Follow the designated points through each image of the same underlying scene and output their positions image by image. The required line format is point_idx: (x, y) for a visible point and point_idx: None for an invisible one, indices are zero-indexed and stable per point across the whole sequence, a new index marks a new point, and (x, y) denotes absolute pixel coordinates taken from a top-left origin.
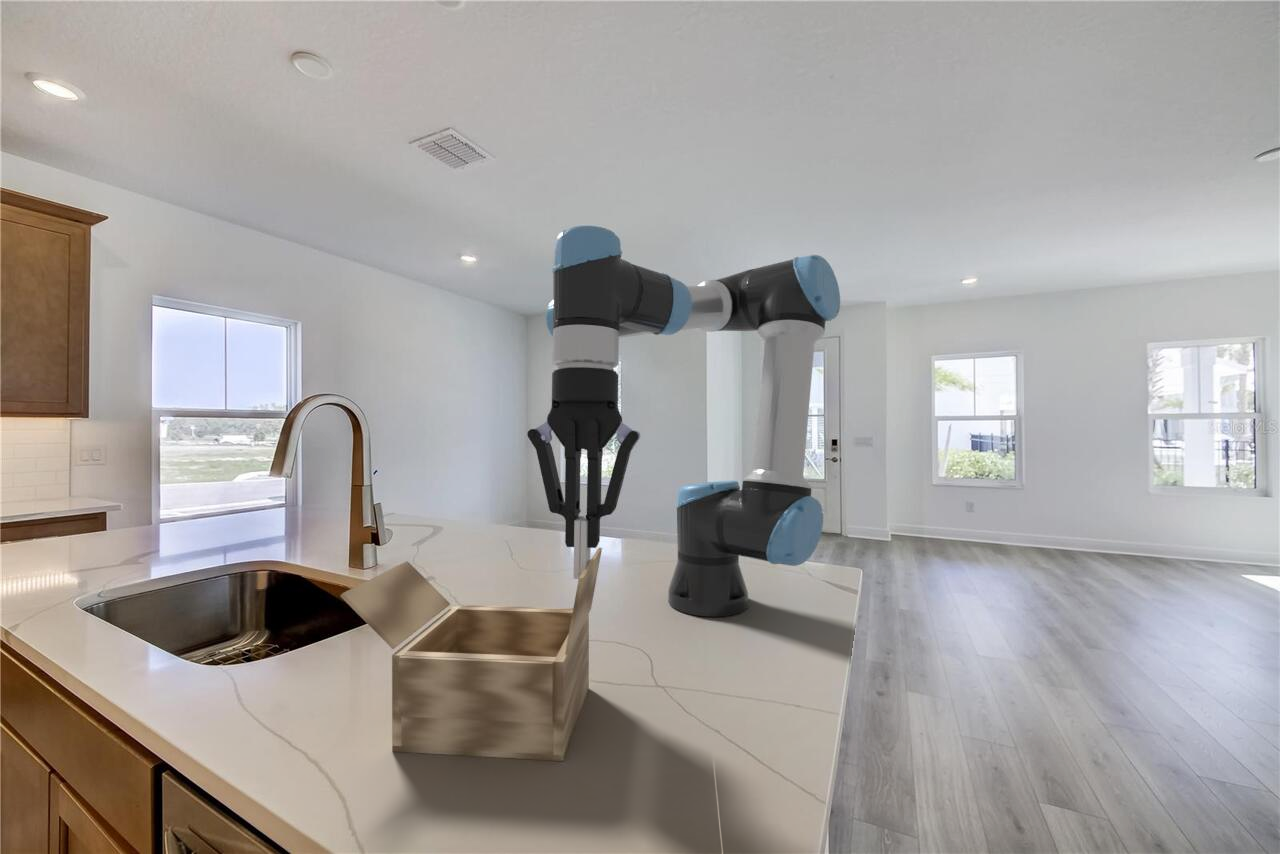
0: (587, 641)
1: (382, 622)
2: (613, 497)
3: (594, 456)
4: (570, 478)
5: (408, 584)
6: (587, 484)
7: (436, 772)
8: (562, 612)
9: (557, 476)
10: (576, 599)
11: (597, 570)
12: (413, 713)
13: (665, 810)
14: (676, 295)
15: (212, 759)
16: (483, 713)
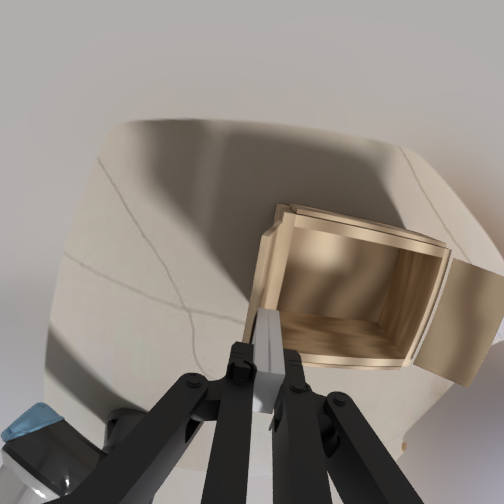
0: None
1: (473, 278)
2: (170, 400)
3: None
4: (308, 462)
5: (462, 354)
6: (249, 445)
7: (373, 205)
8: None
9: (341, 484)
10: (271, 230)
11: None
12: (409, 230)
13: (197, 146)
14: None
15: (488, 240)
16: (355, 217)
